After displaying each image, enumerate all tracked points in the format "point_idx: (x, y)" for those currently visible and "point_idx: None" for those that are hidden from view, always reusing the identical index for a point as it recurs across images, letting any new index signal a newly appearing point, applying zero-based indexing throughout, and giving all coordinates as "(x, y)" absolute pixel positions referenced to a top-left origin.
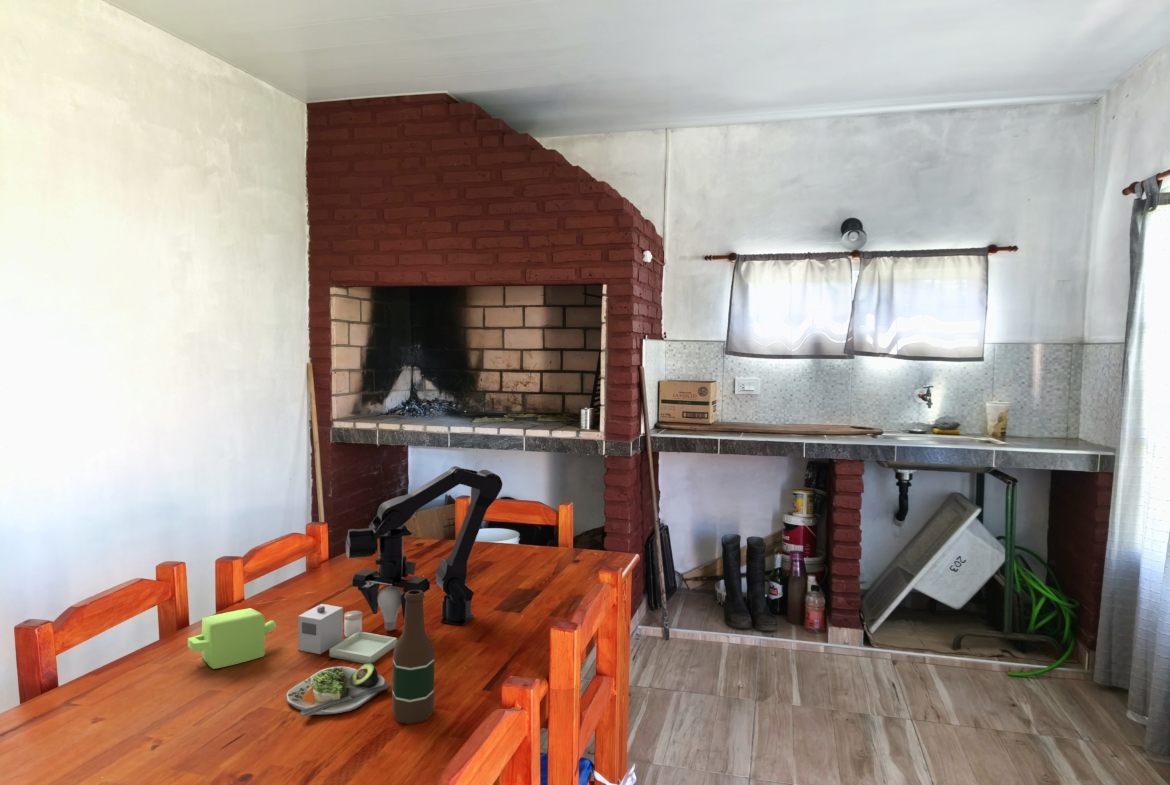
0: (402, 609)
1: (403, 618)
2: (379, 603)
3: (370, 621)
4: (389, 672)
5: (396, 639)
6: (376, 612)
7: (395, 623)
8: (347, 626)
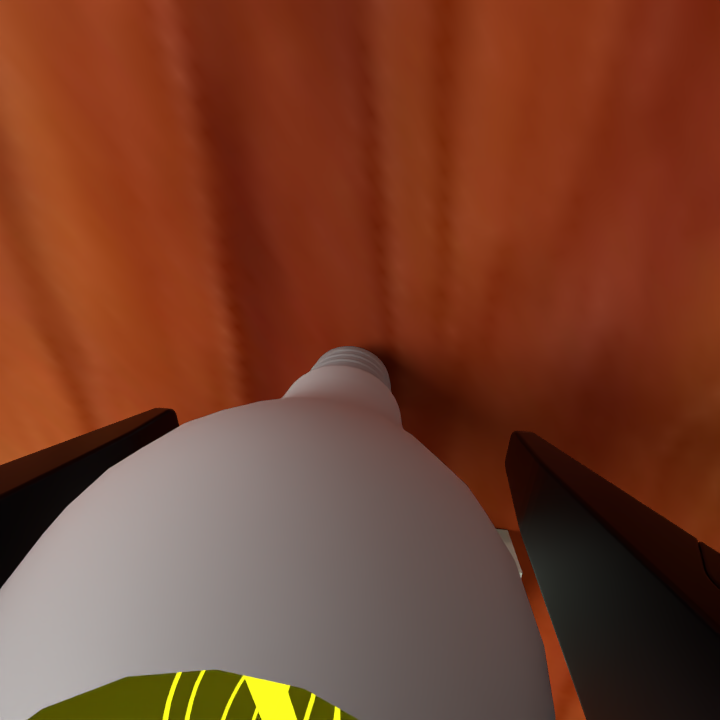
0: (559, 623)
1: (510, 477)
2: (234, 703)
3: (115, 272)
4: (578, 701)
5: (518, 570)
6: (171, 427)
7: (388, 385)
8: None
